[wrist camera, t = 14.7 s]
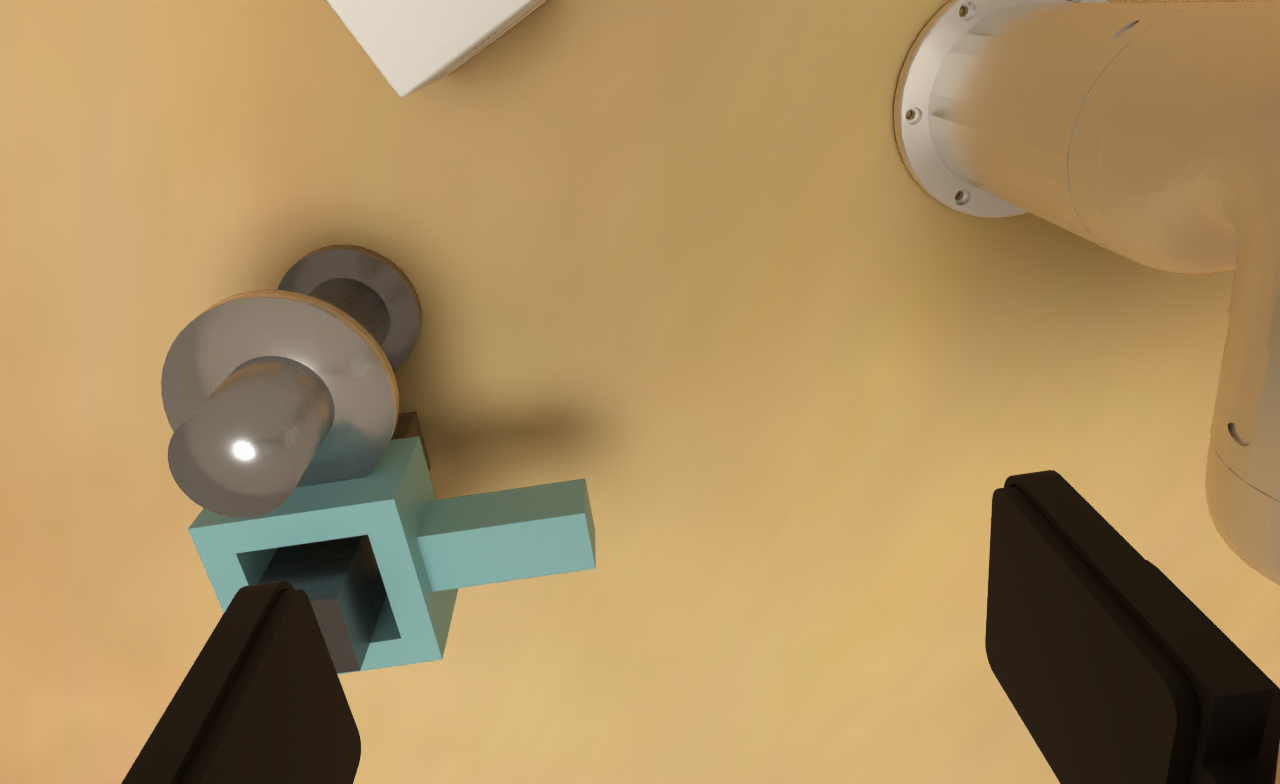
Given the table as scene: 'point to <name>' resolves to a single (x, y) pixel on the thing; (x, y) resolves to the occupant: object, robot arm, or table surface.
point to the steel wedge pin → (341, 581)
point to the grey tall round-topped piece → (290, 382)
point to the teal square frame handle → (410, 543)
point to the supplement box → (427, 34)
